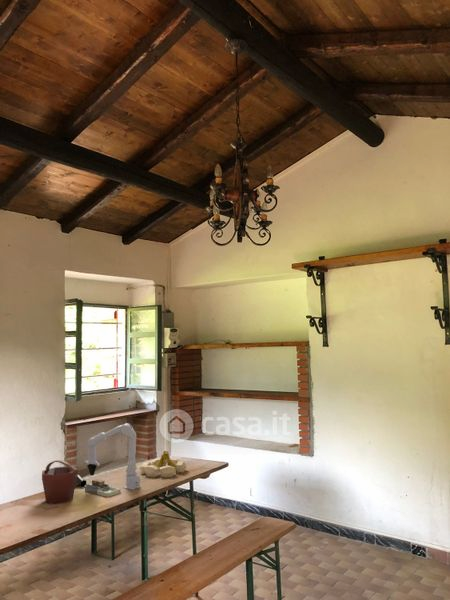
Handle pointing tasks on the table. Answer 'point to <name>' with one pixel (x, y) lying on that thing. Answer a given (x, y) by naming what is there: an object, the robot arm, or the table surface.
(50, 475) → the bucket
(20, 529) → the table surface
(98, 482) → the block
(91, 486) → the rail
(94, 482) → the block
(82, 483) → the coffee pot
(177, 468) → the campfire
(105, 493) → the tray
